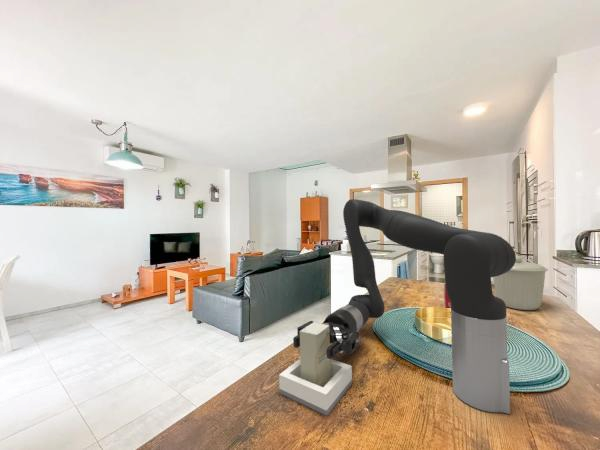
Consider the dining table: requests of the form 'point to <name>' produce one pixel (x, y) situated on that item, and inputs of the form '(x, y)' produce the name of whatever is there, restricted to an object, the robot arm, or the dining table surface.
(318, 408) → the socket block
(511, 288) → the canister
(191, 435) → the dining table surface
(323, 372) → the skincare box
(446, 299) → the soda can
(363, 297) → the robot arm
